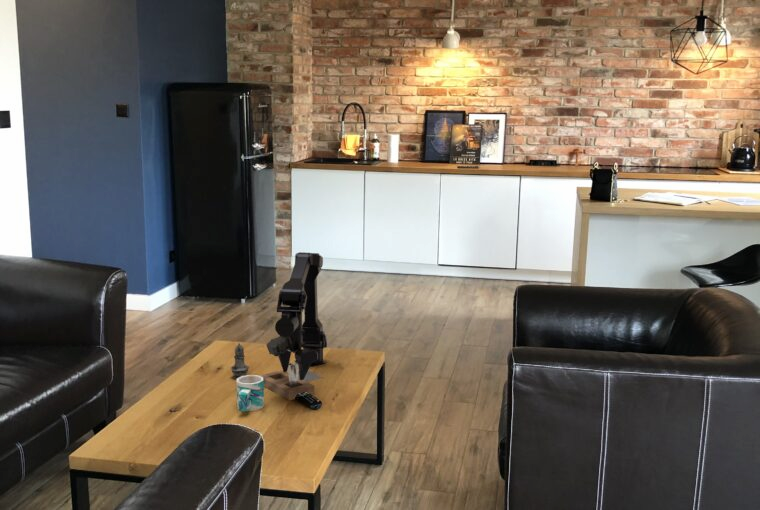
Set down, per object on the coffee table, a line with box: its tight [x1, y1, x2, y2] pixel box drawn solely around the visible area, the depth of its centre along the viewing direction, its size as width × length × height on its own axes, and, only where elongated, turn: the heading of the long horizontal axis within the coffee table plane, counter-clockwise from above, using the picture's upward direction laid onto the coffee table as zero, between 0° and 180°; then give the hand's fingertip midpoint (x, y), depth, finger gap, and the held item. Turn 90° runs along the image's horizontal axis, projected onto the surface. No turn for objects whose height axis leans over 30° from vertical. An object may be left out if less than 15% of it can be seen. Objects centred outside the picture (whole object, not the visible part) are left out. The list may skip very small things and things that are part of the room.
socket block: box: [258, 369, 315, 401], centre depth 255 cm, size 18×9×3 cm, turn 40°
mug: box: [236, 374, 265, 412], centre depth 240 cm, size 8×12×8 cm
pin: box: [288, 362, 299, 388], centre depth 251 cm, size 3×3×10 cm
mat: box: [298, 370, 323, 383], centre depth 267 cm, size 10×10×1 cm
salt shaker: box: [230, 342, 250, 381], centre depth 264 cm, size 6×6×12 cm
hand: (293, 375), depth 251 cm, fingers open, 9 cm apart
